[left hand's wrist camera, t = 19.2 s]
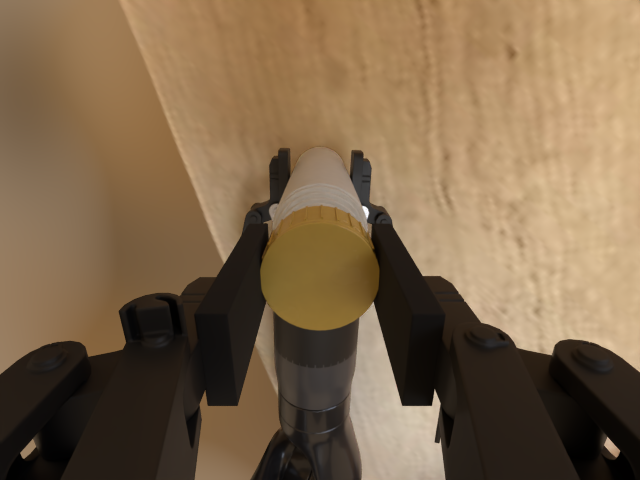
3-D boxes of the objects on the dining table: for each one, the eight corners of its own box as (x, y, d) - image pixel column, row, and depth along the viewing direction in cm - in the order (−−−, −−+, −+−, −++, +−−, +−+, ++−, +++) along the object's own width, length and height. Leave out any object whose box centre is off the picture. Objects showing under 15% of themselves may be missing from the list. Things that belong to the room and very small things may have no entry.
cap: (361, 307, 15) (367, 338, 13) (261, 293, 15) (252, 323, 13) (383, 213, 14) (394, 231, 12) (273, 195, 13) (264, 212, 11)
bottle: (320, 135, 31) (320, 182, 12) (355, 173, 32) (410, 272, 13) (284, 172, 32) (229, 271, 13) (319, 207, 33) (319, 346, 14)
